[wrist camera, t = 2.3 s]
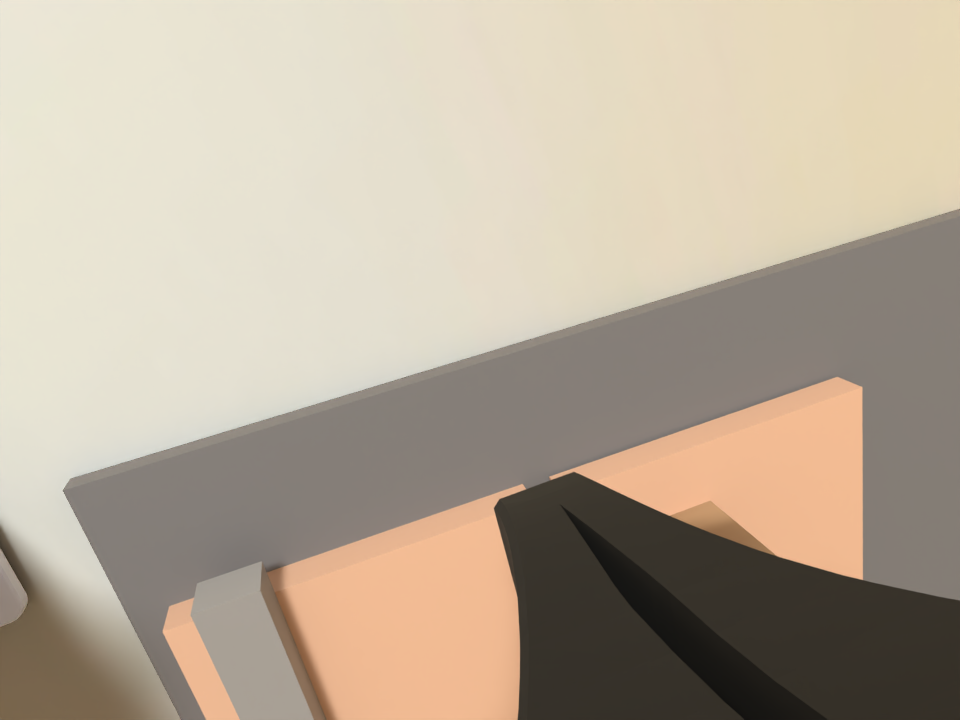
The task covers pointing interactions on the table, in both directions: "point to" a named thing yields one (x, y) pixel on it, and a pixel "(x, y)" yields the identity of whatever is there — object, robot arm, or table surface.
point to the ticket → (362, 629)
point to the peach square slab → (761, 476)
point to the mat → (568, 428)
